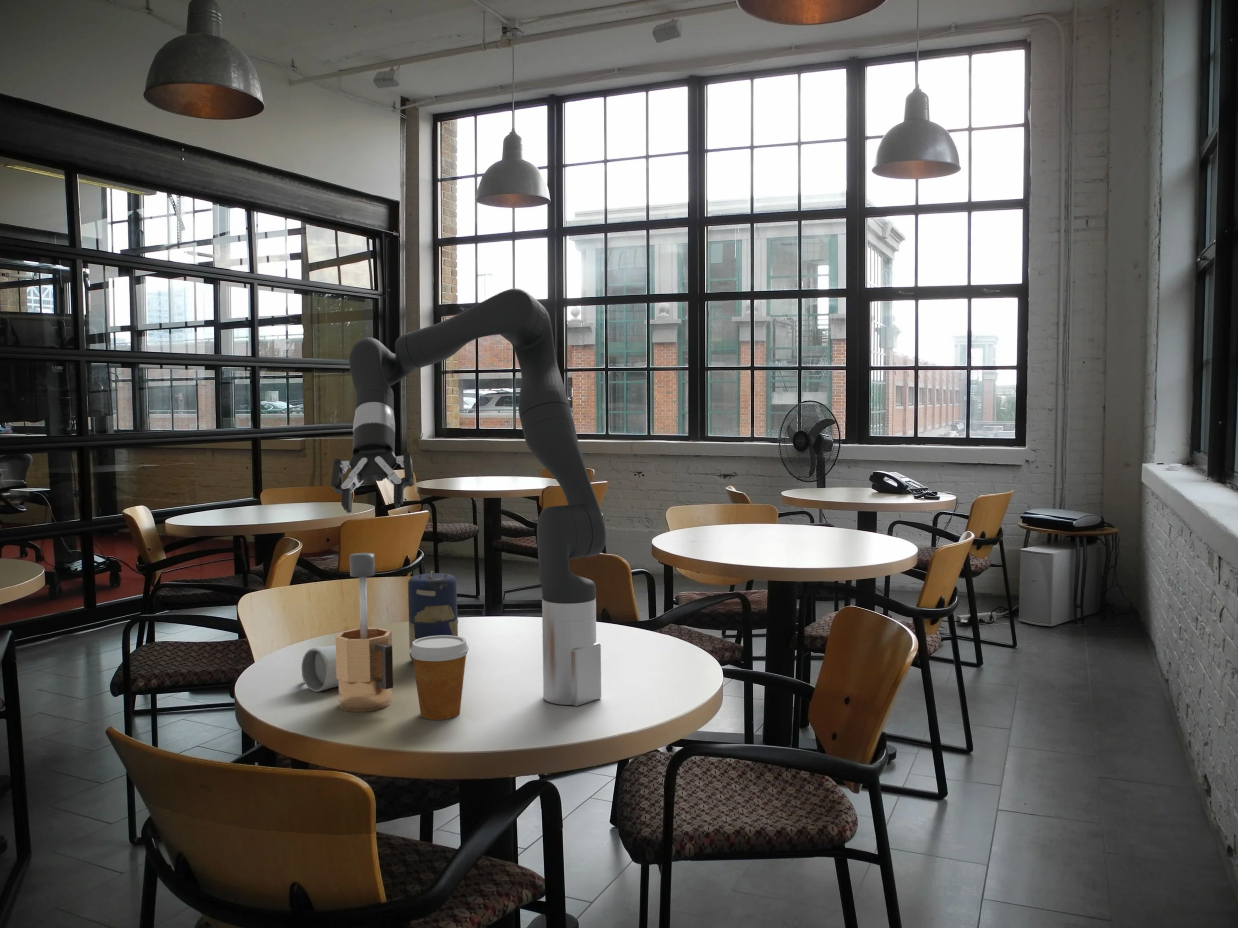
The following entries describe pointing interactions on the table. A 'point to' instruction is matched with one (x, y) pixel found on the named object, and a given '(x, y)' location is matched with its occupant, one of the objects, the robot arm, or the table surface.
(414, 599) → the canister
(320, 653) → the ceramic mug
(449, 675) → the disposable coffee cup
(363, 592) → the plunger
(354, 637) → the wooden pitcher
